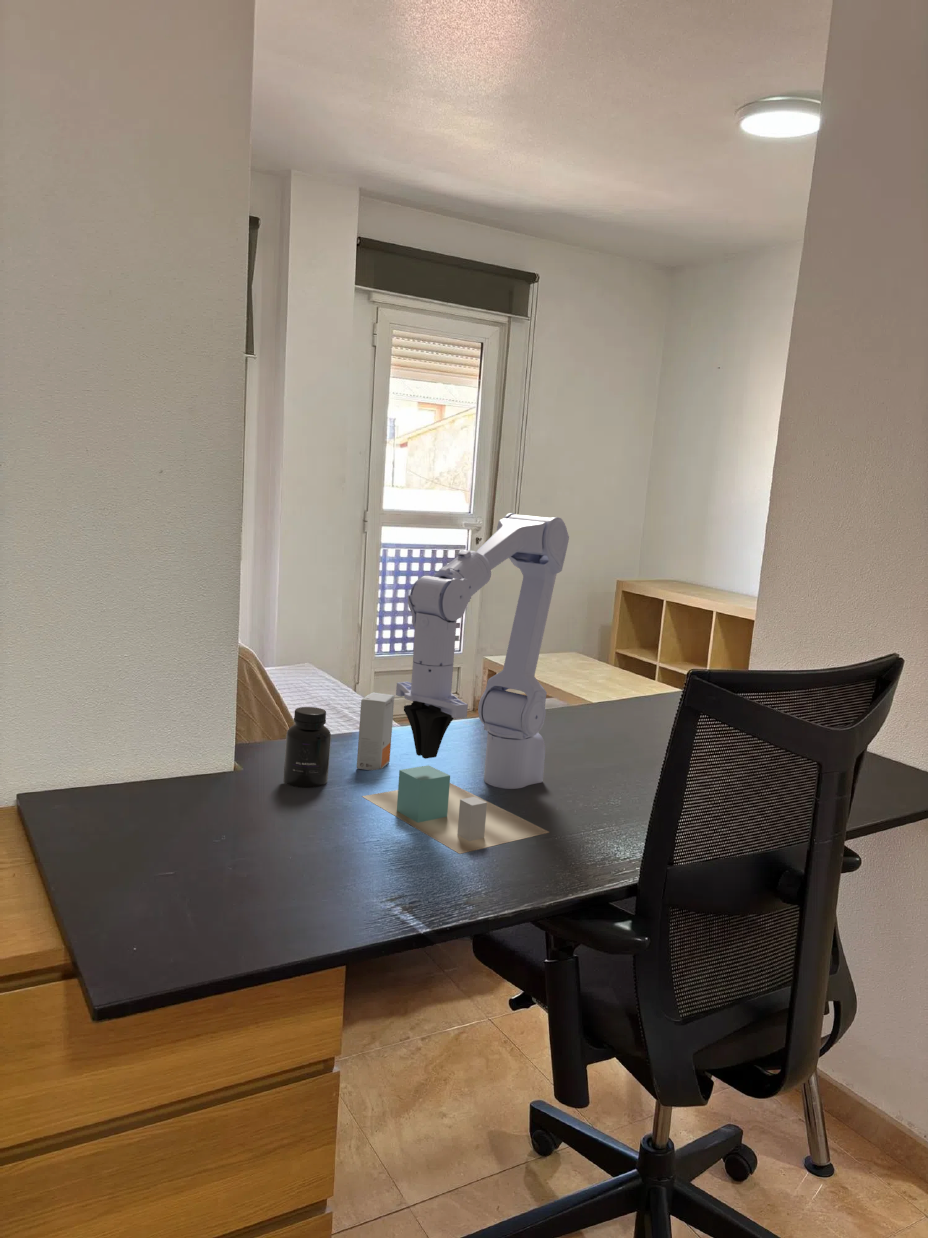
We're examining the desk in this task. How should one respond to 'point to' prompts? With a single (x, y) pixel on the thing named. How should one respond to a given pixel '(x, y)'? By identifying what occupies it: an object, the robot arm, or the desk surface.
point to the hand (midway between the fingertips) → (426, 755)
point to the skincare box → (375, 731)
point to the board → (444, 830)
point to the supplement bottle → (307, 749)
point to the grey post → (472, 818)
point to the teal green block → (423, 793)
